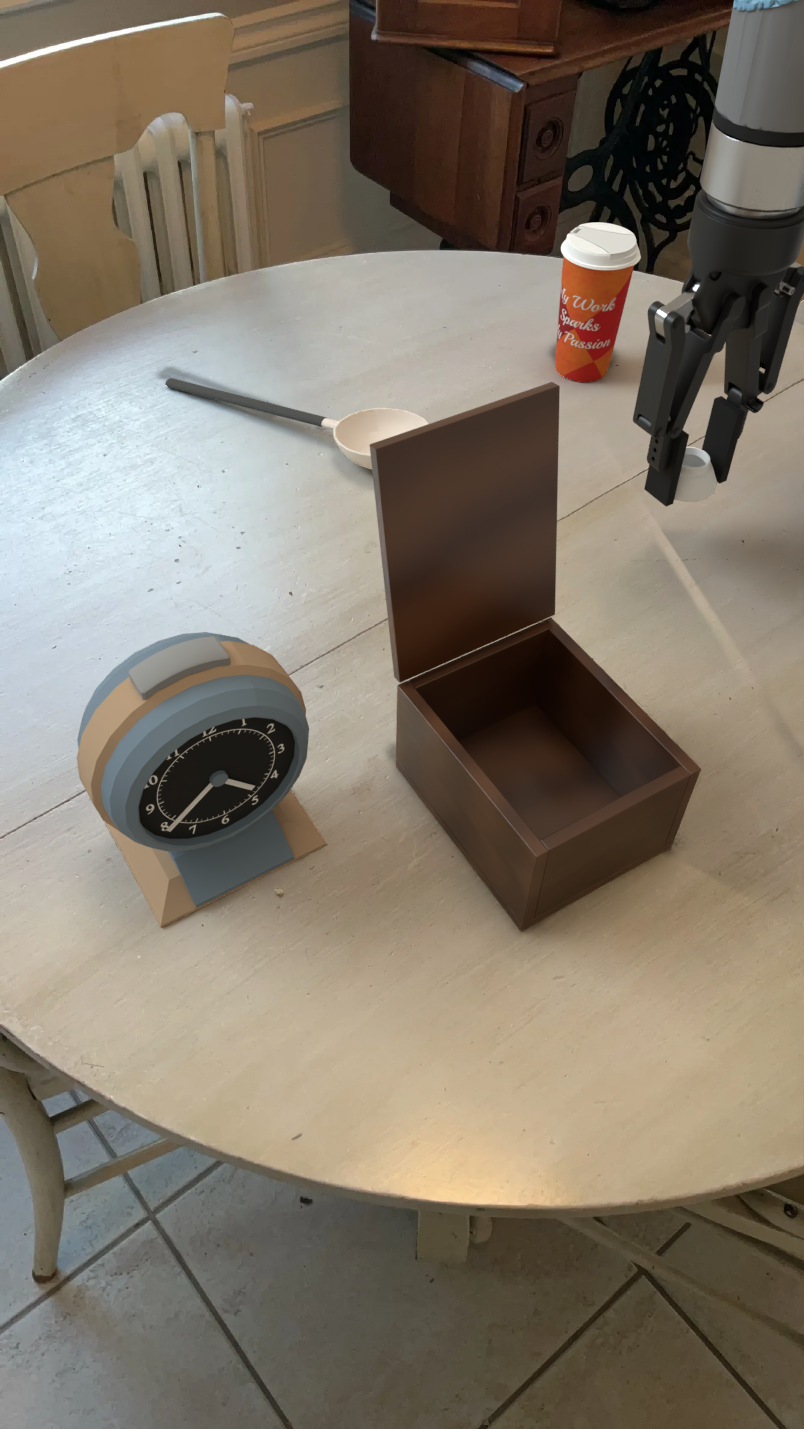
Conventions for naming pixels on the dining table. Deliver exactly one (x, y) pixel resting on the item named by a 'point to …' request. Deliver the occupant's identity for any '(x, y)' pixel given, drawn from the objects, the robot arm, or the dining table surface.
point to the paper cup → (592, 297)
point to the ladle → (327, 420)
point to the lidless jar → (695, 477)
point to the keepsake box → (540, 769)
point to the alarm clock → (198, 768)
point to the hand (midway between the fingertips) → (685, 484)
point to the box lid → (468, 527)
